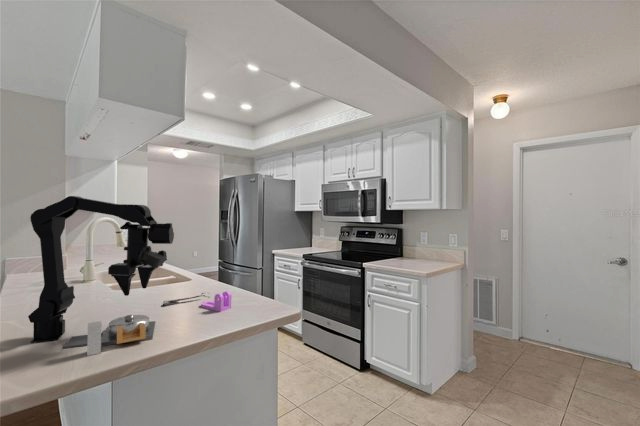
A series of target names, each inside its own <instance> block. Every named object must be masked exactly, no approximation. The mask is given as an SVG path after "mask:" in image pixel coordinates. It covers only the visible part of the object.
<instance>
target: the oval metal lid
mask: <svg viewBox="0 0 640 426" xmlns="http://www.w3.org/2000/svg"><path fill="white" fill-rule="evenodd" d="M149 322H150V317H149V316H147V315H143V314H127V315H125V316H121V317H118V318H114V319H112V320H110V321H109V322H108V327H109V330H108V334H109V335H110V336H113V337H116V340H117V344H116V345H119V343H120V344H125V343H124V342H128V343H131V342H130V341H135V340H140V339H145V338H146V330H148V328H149ZM135 342H136V341H135Z"/></svg>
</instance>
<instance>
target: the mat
mask: <svg viewBox="0 0 640 426" xmlns="http://www.w3.org/2000/svg"><path fill="white" fill-rule="evenodd" d="M103 333H104V332H101V337H102V335H103ZM87 344H88V334H82V335H74V336H71V337H70V338H69V339H68V341H66V343H65V344H64V345H63V347H62V349H63V350H64V349H72V348H79V347H86V346H87Z"/></svg>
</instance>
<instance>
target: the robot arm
mask: <svg viewBox="0 0 640 426" xmlns="http://www.w3.org/2000/svg"><path fill="white" fill-rule="evenodd" d="M78 211H85V212H91V213H98V214H103V215H107V216H108V215H109V216H115V217H116V218H119V219H122V220H124V221H126V222H125V223H124V224H123V225H122V226H120V228H119V229H120V230H127V238H126V239H127V241H126V243H127V244H126V246H124V247H123V251H126V259H123V260H122V261H123V262H117V263H113V264H110V266H108V268H107V270H108V271H107V274H108V275H111V277H112V278H114V280H115V281H116V283H117V284H118V286H119V288H120V290H121V291H122V293H123V294H124V297H127V296H129V295H130V292H131V286H132V285H131V283H132V279H133V278H134V277H135V276H136V275H137V273H135V272H138V277H139V281H140V284H141V287H142V289H147V287H148V284H149V283H150V279H151V277H152V273H153V272H154V271H155V270H157V269H158V268H159V267H163V266H164V263H165V262H167V260H168V259H167V251H165V250H159V251H158V252H157V251H152V247H151V245H149V242H151V244H156V245H161V244H163V245H171V244H173V242H174V238H175V232H174V228H173V222H168V223H158V222H157V221H156V220H155V218H154V217H153V216H152V211H151V209H150V208H149V206H147V205H146V204H145V205H144V204H122V203H121V204H118V203H113V202H108V201H102V200H97V199H91V198H90V199H89V198H86V197H85V198H84V197H82V196H77V195H76V196H75V195H69V196H67V197H65V198H63V199H61V200H59V201H57V202H54V203H53V204H50V205H48V206H45V207H44V208H39V209H36V210H34V211H33V213H31V214H30V219H29V220H30V222H31V223H30V224H31V226H32V229H33V231H34V232H35V234H36V235H37V237H38V238H39V242H40V251H41V254H40V255H41V262H42V263H41V265H42V275H43V288H42V289H41V290H42V291H40V295H39V297H38V298H39V299H38V307H37V308H36V309H34V311H32V312H31V313H30V314H29V315H28V316H27V317H28V320H29V322H30V323H31V324H32V323H33V338H32V339H31V340H30V343H31V344H33V343H40V342H50V341H56V340H59V339H60V338H61V337H62V336H63V335H64V334H65V333H66V319H64V314H66V313H67V310H68V308H69V307H71V306H72V305H73V302H74V300H75V299H76V296H75V293H74V292H75V291H74V290H75V287H74V285H71V286H68V284H67V283H66V281H65V272H64V271H65V270H64V260H63V259H64V258H63V249H62V248H63V247H62V238H61V237H62V234H63V232H64V231H65V227H66V220H67V219H68V218H70V217H72V216H73V215H74V214H76V213H77V212H78ZM133 223H134V224H133ZM136 270H137V271H136Z"/></svg>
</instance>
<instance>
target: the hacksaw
mask: <svg viewBox="0 0 640 426" xmlns="http://www.w3.org/2000/svg"><path fill="white" fill-rule="evenodd" d="M208 294H210V293H209V292H208ZM200 297H206V298H208V299H210V296H207V295H205V294H204V292H202V293H201V295H195V296H191V297H184V298H178V299H172V300H169V299H168V300H164V301H163V302H164V303H162V304H161V307H164V308H165V307H169V306H174V305H175V306H176V305H179V304H185V303H190V302H195V301H197V302H198V301H201V300H202V299H196V298H200ZM189 299H192V300H189ZM193 299H194V300H193Z"/></svg>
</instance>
